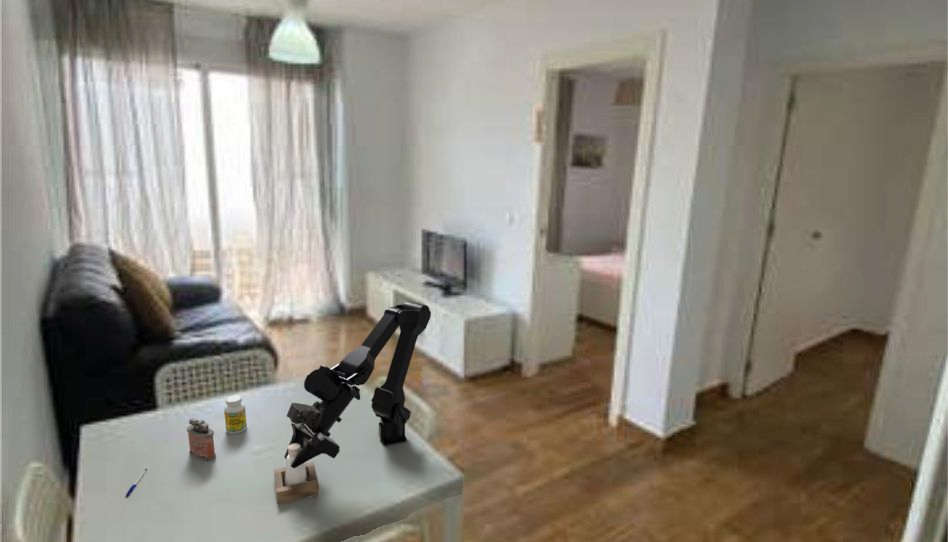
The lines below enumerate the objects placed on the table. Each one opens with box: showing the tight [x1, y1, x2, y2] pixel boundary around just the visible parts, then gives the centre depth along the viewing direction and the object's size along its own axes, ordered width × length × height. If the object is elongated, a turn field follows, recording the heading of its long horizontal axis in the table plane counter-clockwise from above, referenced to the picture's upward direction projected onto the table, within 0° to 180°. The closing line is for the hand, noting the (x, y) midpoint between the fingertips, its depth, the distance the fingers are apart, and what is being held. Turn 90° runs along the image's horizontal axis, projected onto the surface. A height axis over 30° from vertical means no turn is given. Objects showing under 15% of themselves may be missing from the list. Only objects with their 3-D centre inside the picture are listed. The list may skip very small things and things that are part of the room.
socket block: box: [273, 461, 320, 505], centre depth 125 cm, size 9×9×3 cm
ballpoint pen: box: [125, 468, 148, 498], centre depth 125 cm, size 10×1×1 cm, turn 11°
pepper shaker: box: [284, 443, 309, 487], centre depth 124 cm, size 5×5×11 cm
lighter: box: [186, 417, 217, 463], centre depth 135 cm, size 8×3×10 cm, turn 65°
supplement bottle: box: [223, 394, 248, 435], centre depth 148 cm, size 5×5×10 cm
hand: (289, 462), depth 123 cm, fingers closed on pepper shaker, 4 cm apart
